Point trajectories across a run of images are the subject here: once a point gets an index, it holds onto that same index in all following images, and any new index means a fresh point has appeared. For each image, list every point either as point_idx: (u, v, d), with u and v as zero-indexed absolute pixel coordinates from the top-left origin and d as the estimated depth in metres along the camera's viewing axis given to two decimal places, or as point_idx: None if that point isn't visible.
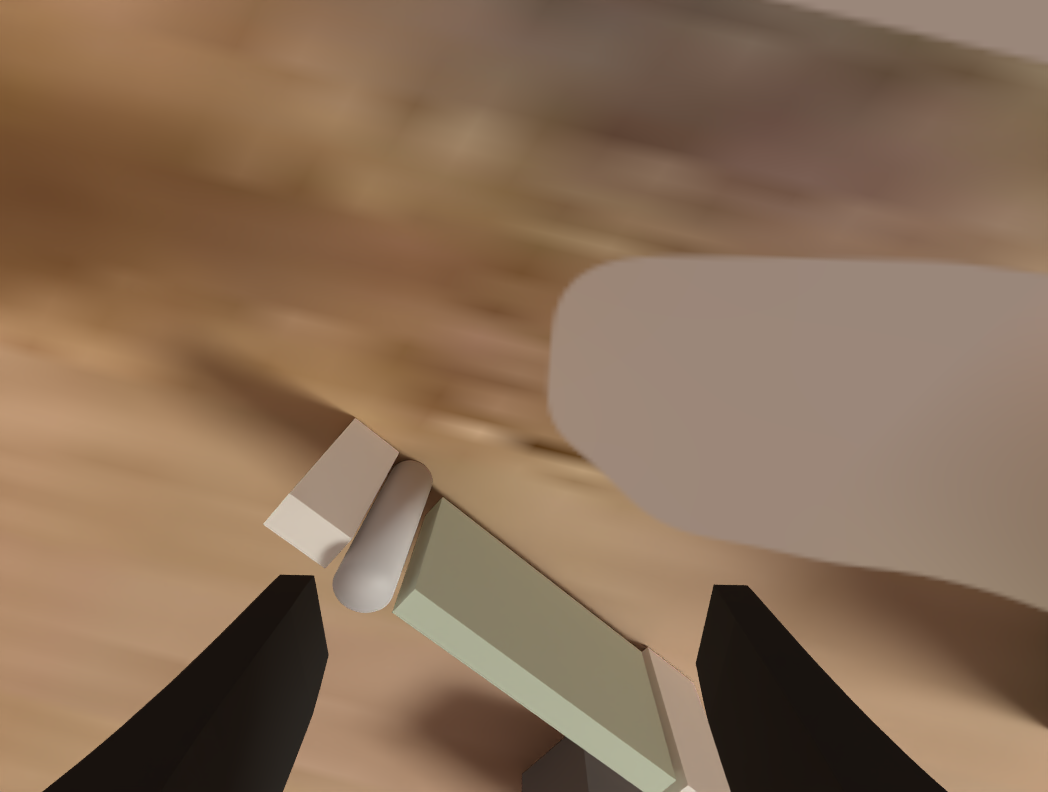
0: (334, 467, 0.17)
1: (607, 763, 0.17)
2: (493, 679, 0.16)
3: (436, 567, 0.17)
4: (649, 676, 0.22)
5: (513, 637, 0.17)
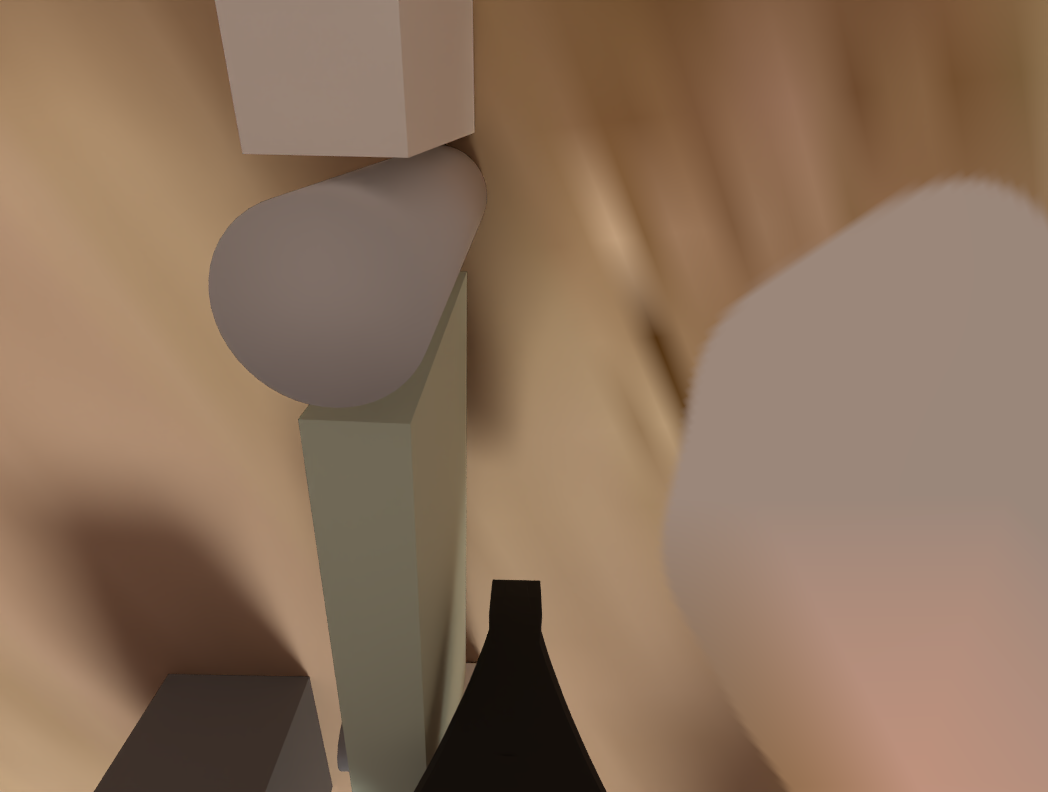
0: None
1: None
2: (350, 686, 0.07)
3: (434, 396, 0.07)
4: None
5: (434, 623, 0.08)
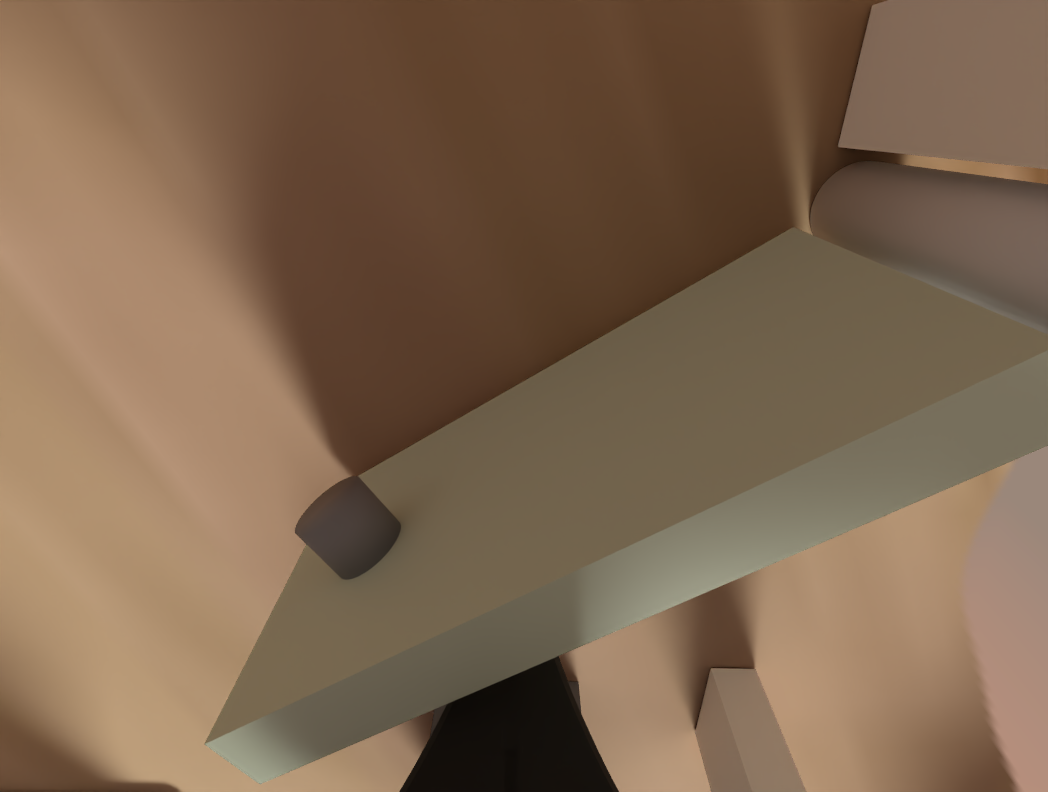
0: None
1: (331, 689, 0.07)
2: (688, 530, 0.06)
3: None
4: (763, 716, 0.14)
5: None
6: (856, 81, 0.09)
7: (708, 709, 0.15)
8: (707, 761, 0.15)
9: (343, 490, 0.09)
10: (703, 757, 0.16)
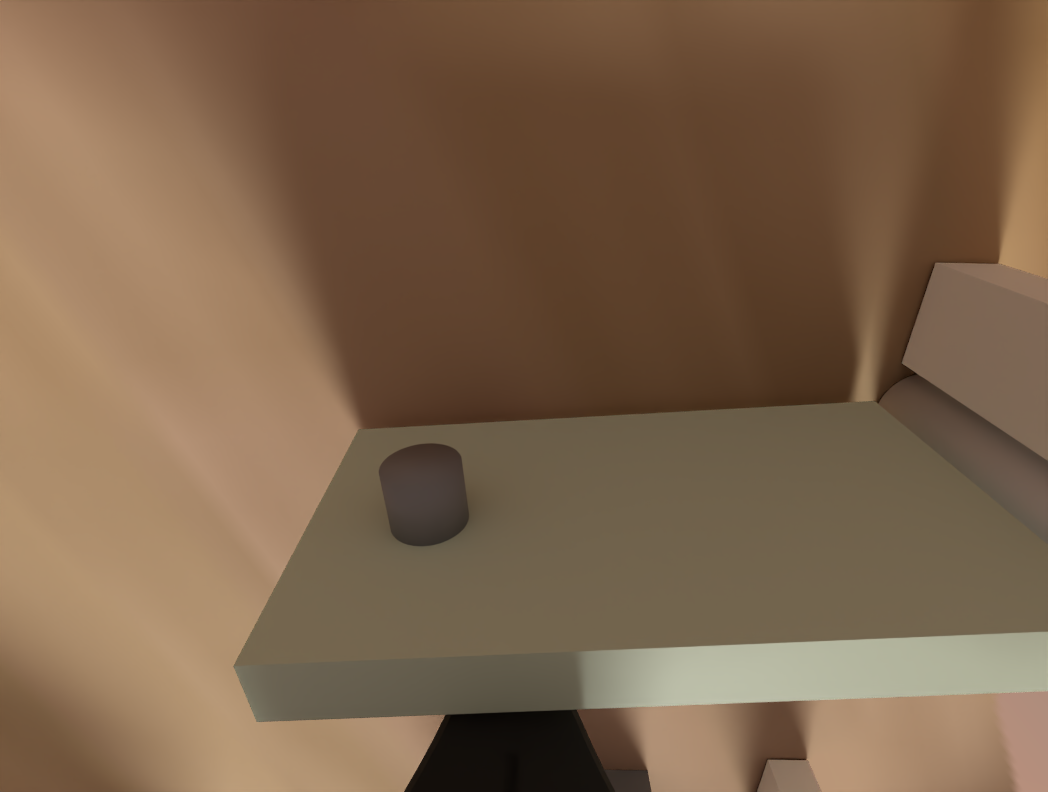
0: None
1: (409, 662, 0.07)
2: (817, 650, 0.06)
3: None
4: None
5: None
6: (919, 318, 0.11)
7: None
8: None
9: (439, 458, 0.08)
10: None
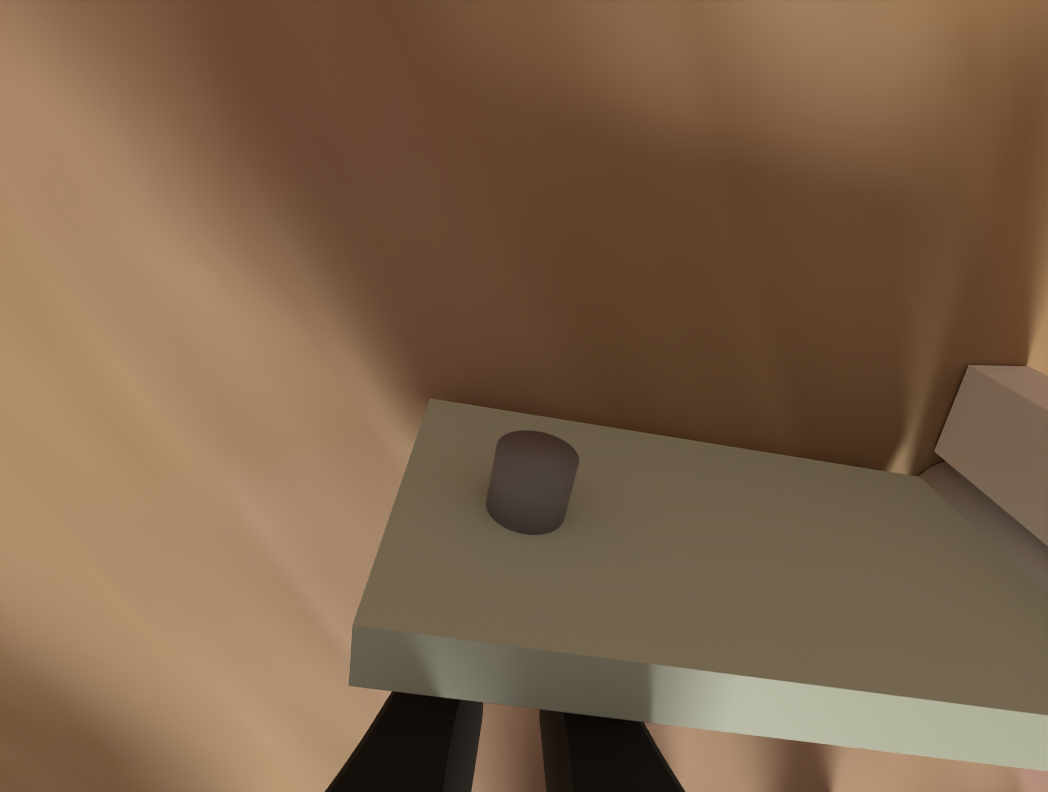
0: None
1: (535, 653, 0.06)
2: (918, 708, 0.07)
3: None
4: None
5: None
6: (952, 413, 0.12)
7: None
8: None
9: (554, 448, 0.08)
10: None
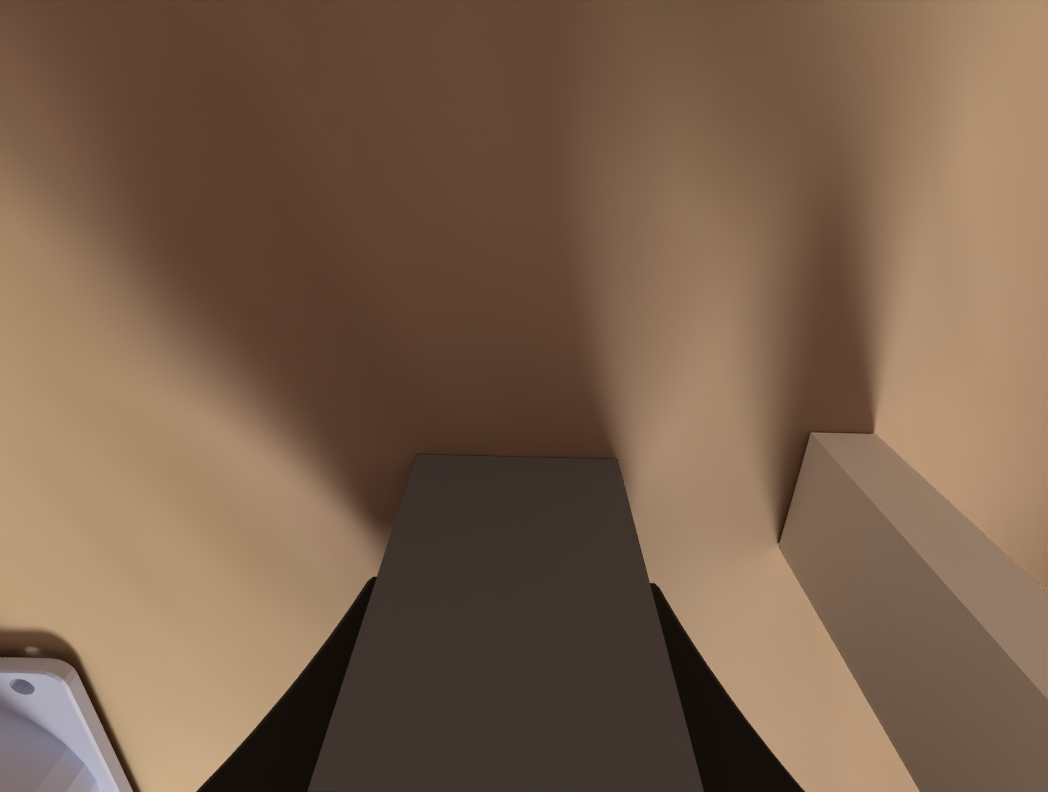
0: None
1: None
2: None
3: None
4: (903, 475, 0.09)
5: None
6: None
7: (806, 494, 0.11)
8: (804, 569, 0.11)
9: None
10: (796, 569, 0.11)
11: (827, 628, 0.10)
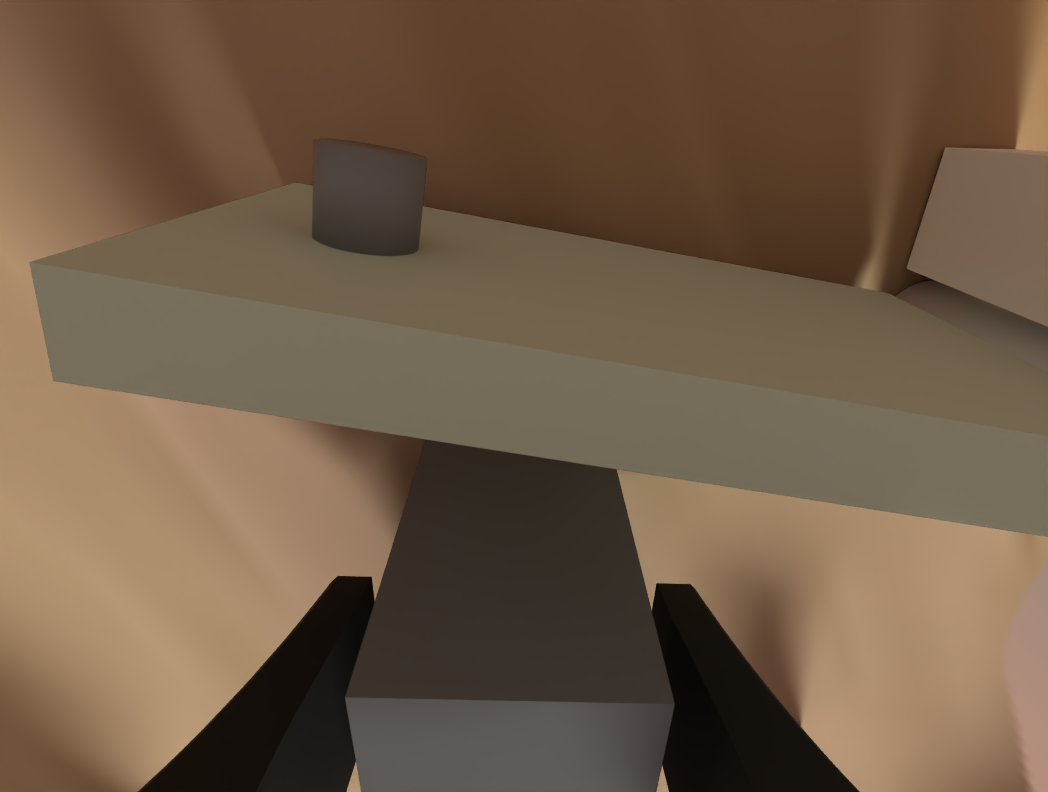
0: None
1: (303, 318, 0.04)
2: (853, 420, 0.05)
3: None
4: None
5: None
6: (927, 213, 0.10)
7: None
8: None
9: (398, 153, 0.06)
10: None
11: None
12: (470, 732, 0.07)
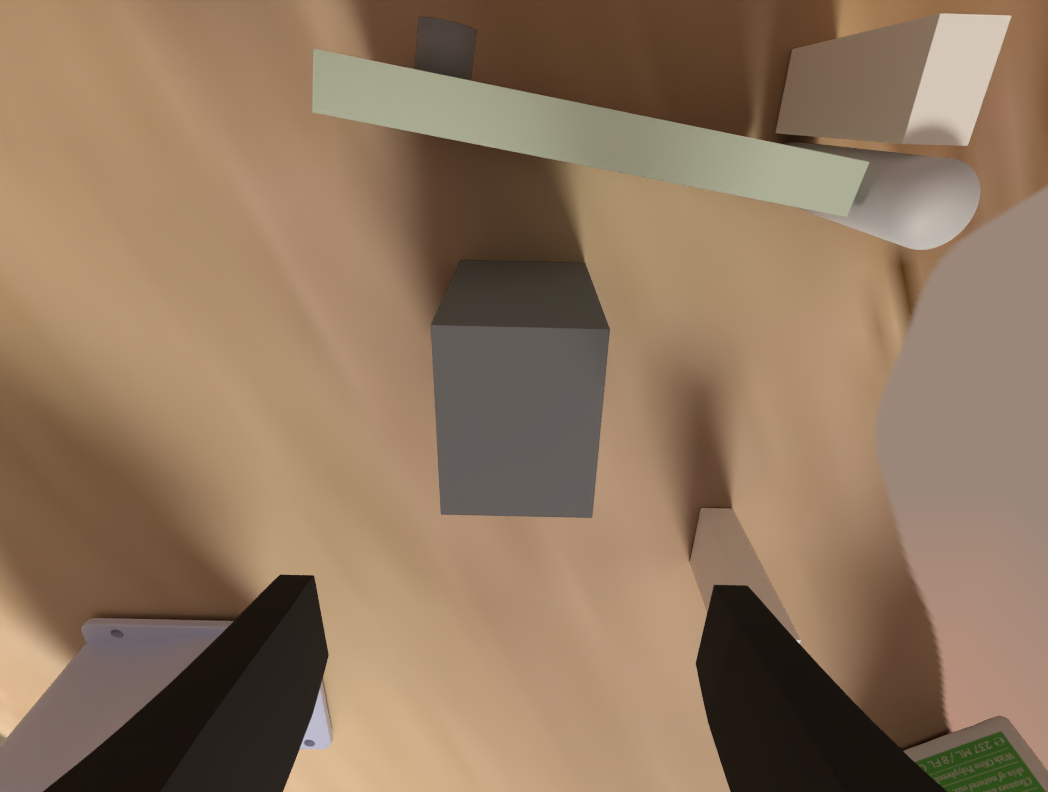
0: None
1: (430, 77, 0.10)
2: (682, 134, 0.10)
3: None
4: (736, 531, 0.20)
5: None
6: (784, 93, 0.15)
7: (699, 538, 0.22)
8: (698, 574, 0.22)
9: None
10: (695, 574, 0.22)
11: (704, 603, 0.21)
12: (498, 353, 0.12)
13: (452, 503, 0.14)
